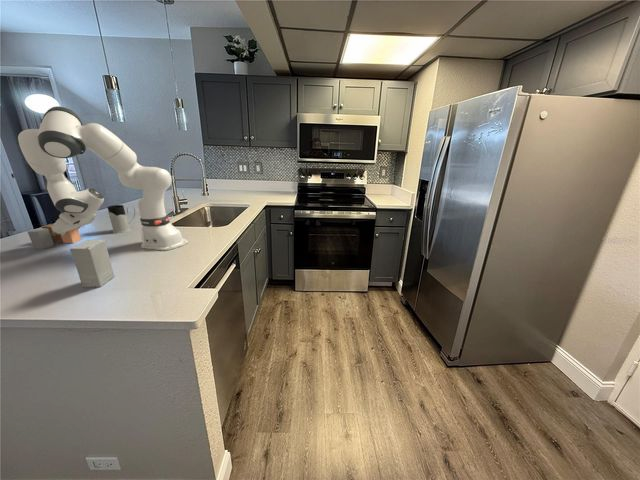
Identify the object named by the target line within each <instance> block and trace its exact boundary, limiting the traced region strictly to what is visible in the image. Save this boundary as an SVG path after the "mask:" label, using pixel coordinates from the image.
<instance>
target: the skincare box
mask: <svg viewBox="0 0 640 480" xmlns="http://www.w3.org/2000/svg"><path fill="white" fill-rule="evenodd" d="M69 250H70V253H71V255H72V259H73V261H74V265H75V267H76V271H77V273H78V278H79V280H80V284H81V287H82V288H99V287H98V286H101V287H103V286H104V285H105V284H107V283H108V282H109V281H111V279H113V278H114V277H115V274H114V273H115V272H114V270H113V267H112V262H111V260H110V259H111V258H110V255H109V251H108V247H107V244H106V240H105V239H86V240H84V241H82V242H81V243H79V244H77V245H74V246H72V247H70V249H69ZM103 284H104V285H103ZM95 286H96V287H95Z"/></svg>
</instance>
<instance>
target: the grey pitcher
mask: <svg viewBox="0 0 640 480" xmlns="http://www.w3.org/2000/svg"><path fill="white" fill-rule="evenodd" d="M130 207H132V208H133V211H134V214H133V217H132V219H131V220H130V221H129V220H128V217H127V215H129V208H130ZM107 211H108V216H109V219H110V223H111V227H112V233H113V234H124V233H128V232H131V230H132V229H131V228H130V224H131V223H132V222H133V220H134V219H135V218H136V212H137V211H136V208H135V207H134V206H132V205H129V206H127V207H126V211H125V207H124V205H123V204H116V205H109V206H107Z"/></svg>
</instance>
